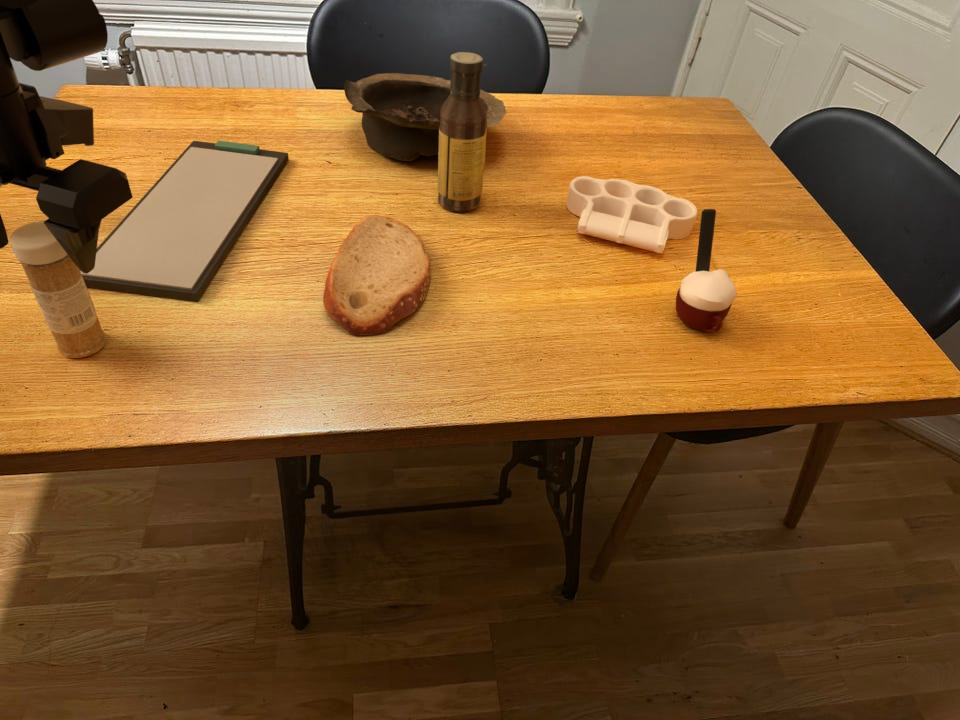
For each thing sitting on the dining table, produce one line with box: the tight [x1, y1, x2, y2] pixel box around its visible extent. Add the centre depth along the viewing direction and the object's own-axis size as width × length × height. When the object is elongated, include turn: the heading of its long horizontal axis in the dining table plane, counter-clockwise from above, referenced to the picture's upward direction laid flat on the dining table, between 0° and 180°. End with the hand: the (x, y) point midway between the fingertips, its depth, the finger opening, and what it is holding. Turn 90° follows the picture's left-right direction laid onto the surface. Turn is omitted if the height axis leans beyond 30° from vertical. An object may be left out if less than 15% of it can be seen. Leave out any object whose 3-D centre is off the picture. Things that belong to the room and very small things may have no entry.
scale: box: [79, 140, 289, 303], centre depth 89 cm, size 34×14×2 cm, turn 175°
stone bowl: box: [343, 72, 508, 162], centre depth 108 cm, size 25×25×9 cm
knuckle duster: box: [565, 175, 698, 254], centre depth 97 cm, size 3×18×15 cm
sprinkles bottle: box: [8, 220, 107, 359], centre depth 66 cm, size 5×5×14 cm
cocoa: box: [675, 208, 738, 333], centre depth 79 cm, size 10×6×12 cm, turn 167°
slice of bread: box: [322, 214, 432, 337], centre depth 82 cm, size 18×18×4 cm
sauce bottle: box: [437, 51, 488, 213], centre depth 91 cm, size 6×6×20 cm
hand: (45, 258), depth 63 cm, fingers open, 9 cm apart
